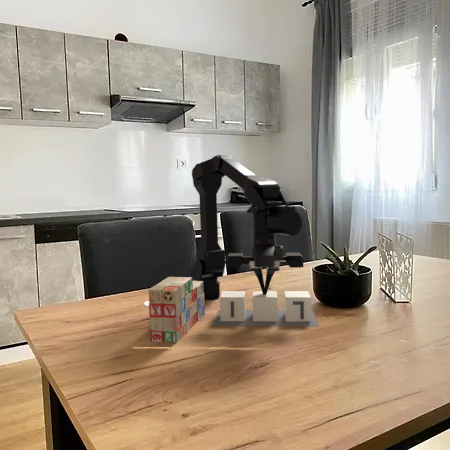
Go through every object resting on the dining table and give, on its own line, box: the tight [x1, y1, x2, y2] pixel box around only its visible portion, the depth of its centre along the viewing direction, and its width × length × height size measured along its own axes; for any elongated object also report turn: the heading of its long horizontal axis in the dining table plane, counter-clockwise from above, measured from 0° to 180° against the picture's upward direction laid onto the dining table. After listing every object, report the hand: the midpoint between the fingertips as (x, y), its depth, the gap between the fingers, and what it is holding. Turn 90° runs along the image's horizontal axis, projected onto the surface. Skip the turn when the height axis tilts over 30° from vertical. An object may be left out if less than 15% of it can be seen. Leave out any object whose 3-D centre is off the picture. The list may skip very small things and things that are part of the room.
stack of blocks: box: [148, 276, 206, 344], centre depth 107 cm, size 21×6×12 cm, turn 166°
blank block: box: [252, 290, 279, 321], centre depth 113 cm, size 6×6×6 cm
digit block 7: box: [283, 290, 312, 322], centre depth 112 cm, size 6×6×6 cm
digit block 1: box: [219, 290, 247, 321], centre depth 113 cm, size 6×6×6 cm
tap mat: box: [212, 309, 319, 327], centre depth 113 cm, size 25×13×1 cm, turn 85°
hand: (264, 294), depth 112 cm, fingers closed, pressing on blank block
